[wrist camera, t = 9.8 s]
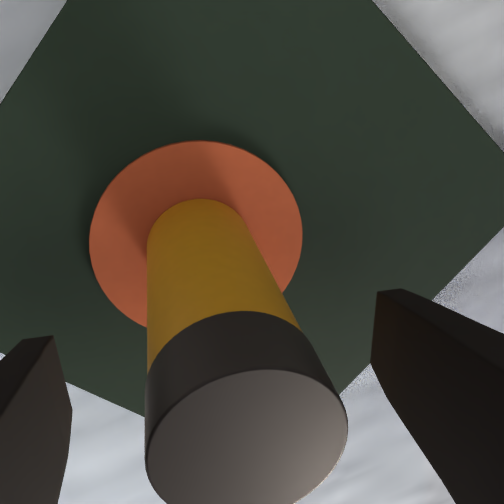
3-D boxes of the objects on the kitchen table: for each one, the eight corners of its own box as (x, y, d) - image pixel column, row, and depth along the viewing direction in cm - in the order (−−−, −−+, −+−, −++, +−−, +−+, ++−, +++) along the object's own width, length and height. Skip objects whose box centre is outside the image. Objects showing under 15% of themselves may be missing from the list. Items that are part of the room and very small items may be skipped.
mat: (530, 188, 18) (542, 193, 17) (262, 464, 21) (265, 475, 21) (196, -195, 11) (198, -206, 11) (-119, 290, 15) (-128, 300, 14)
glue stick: (271, 229, 16) (388, 411, 8) (214, 309, 17) (272, 540, 9) (182, 175, 14) (222, 333, 7) (124, 265, 15) (104, 494, 8)
